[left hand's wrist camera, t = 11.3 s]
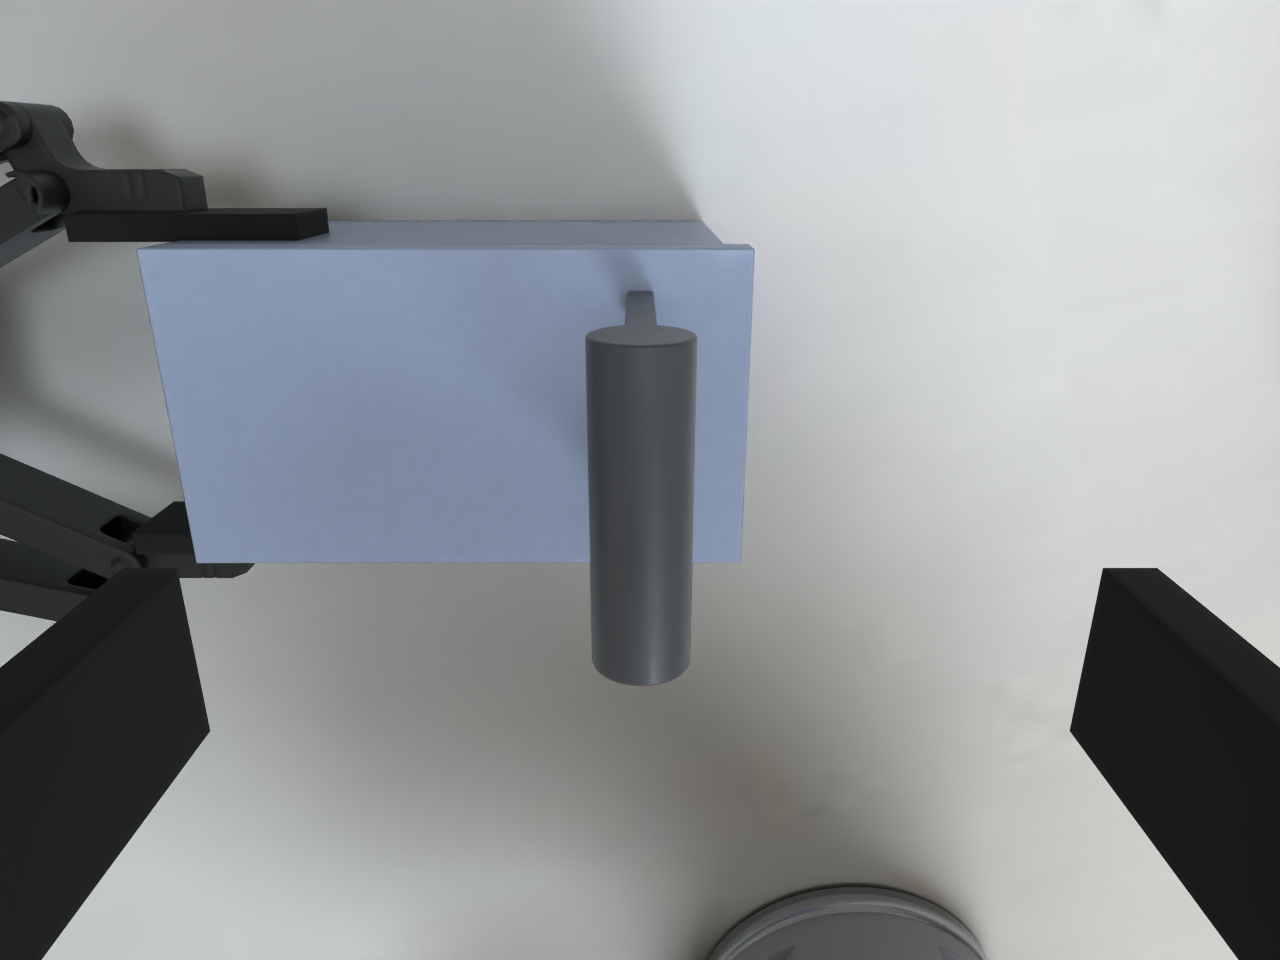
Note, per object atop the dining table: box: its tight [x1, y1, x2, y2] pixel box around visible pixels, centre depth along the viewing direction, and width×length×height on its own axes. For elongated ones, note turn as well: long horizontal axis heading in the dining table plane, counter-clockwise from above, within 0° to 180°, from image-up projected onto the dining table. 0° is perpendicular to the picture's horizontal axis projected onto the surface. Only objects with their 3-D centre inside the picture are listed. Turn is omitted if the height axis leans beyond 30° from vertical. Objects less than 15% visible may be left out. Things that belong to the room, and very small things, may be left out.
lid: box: [137, 244, 755, 686], centre depth 21 cm, size 16×9×9 cm, turn 90°
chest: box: [165, 221, 723, 244], centre depth 30 cm, size 16×9×9 cm, turn 90°
